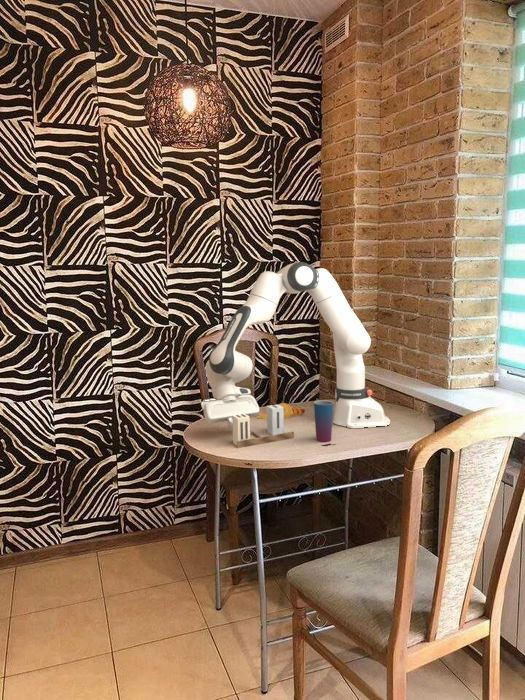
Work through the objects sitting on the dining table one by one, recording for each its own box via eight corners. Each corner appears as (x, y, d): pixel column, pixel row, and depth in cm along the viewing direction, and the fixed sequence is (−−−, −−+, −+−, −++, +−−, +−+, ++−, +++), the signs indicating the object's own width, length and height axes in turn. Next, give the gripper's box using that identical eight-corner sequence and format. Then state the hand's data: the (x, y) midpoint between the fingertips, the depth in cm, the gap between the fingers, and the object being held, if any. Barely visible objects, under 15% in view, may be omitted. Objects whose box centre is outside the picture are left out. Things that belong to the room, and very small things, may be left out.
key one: (277, 430, 209) (277, 404, 207) (283, 433, 205) (283, 406, 203) (267, 432, 207) (266, 405, 205) (273, 435, 203) (272, 408, 201)
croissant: (260, 432, 224) (263, 417, 219) (251, 415, 231) (254, 401, 227) (307, 424, 232) (311, 409, 227) (297, 408, 239) (301, 394, 235)
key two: (244, 441, 197) (244, 413, 196) (250, 444, 193) (249, 416, 192) (233, 443, 195) (232, 415, 194) (238, 446, 191) (237, 418, 190)
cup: (333, 440, 200) (333, 400, 198) (333, 447, 193) (333, 405, 191) (314, 440, 201) (313, 399, 198) (313, 446, 194) (313, 404, 192)
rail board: (278, 432, 211) (278, 423, 210) (294, 441, 200) (293, 432, 199) (224, 442, 201) (224, 432, 200) (237, 452, 190) (237, 441, 190)
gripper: (201, 395, 196) (212, 429, 189) (253, 388, 205) (266, 420, 198) (197, 405, 201) (208, 438, 194) (248, 397, 210) (261, 429, 203)
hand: (238, 429), depth 196 cm, fingers closed, pressing on key two
